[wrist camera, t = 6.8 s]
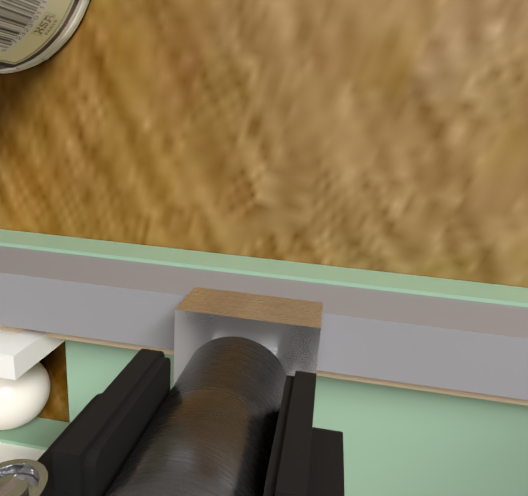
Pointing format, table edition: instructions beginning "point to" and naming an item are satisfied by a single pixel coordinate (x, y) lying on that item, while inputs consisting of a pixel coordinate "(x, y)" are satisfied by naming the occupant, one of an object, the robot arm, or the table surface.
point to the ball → (23, 397)
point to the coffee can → (35, 30)
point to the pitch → (328, 363)
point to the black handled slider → (222, 395)
